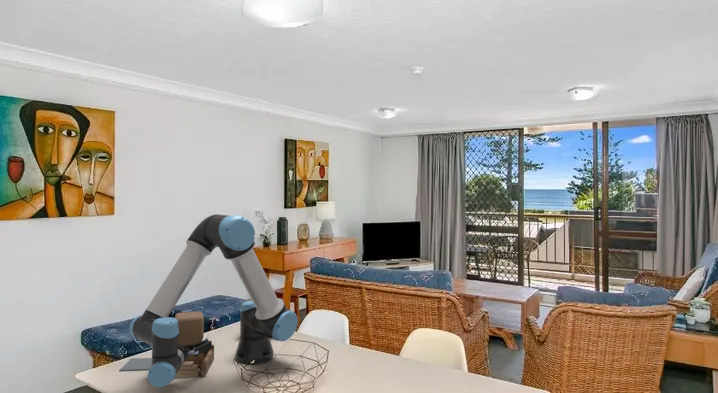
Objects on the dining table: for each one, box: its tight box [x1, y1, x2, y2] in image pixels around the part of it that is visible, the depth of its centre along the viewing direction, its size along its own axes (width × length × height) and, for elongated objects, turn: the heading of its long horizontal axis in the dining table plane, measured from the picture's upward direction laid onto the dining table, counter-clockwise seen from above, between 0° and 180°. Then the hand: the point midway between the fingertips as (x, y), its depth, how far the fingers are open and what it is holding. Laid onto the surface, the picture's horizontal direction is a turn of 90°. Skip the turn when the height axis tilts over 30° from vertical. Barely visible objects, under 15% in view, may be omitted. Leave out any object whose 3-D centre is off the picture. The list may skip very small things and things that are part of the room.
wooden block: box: [174, 310, 205, 370], centre depth 171 cm, size 10×10×20 cm
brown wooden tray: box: [174, 344, 215, 379], centre depth 169 cm, size 18×16×6 cm
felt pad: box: [119, 357, 152, 372], centre depth 172 cm, size 12×12×1 cm
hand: (187, 338), depth 170 cm, fingers open, 13 cm apart
